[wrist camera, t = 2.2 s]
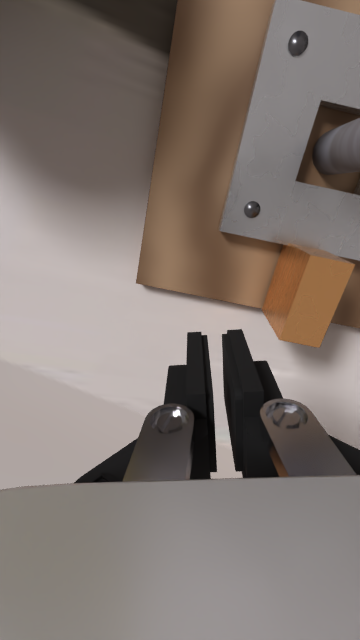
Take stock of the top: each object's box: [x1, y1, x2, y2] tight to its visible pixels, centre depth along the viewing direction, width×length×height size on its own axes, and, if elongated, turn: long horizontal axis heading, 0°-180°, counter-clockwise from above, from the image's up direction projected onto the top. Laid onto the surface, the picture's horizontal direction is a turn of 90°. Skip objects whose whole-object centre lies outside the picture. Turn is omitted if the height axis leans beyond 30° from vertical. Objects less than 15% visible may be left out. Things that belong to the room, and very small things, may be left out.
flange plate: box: [219, 0, 360, 348], centre depth 21 cm, size 20×14×6 cm
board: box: [136, 0, 360, 328], centre depth 20 cm, size 26×26×9 cm
